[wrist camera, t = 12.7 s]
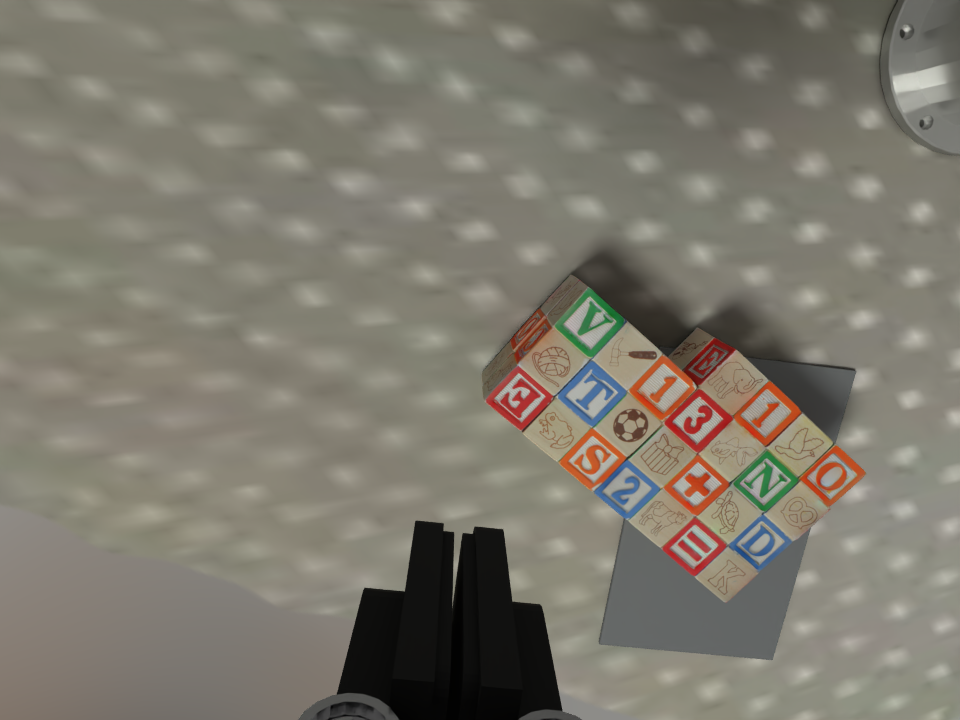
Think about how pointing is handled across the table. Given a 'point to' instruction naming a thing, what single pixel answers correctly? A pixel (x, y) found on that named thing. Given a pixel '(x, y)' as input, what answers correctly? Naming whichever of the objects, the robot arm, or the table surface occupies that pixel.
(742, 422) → the stack of blocks
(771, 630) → the mat
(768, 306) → the table surface
